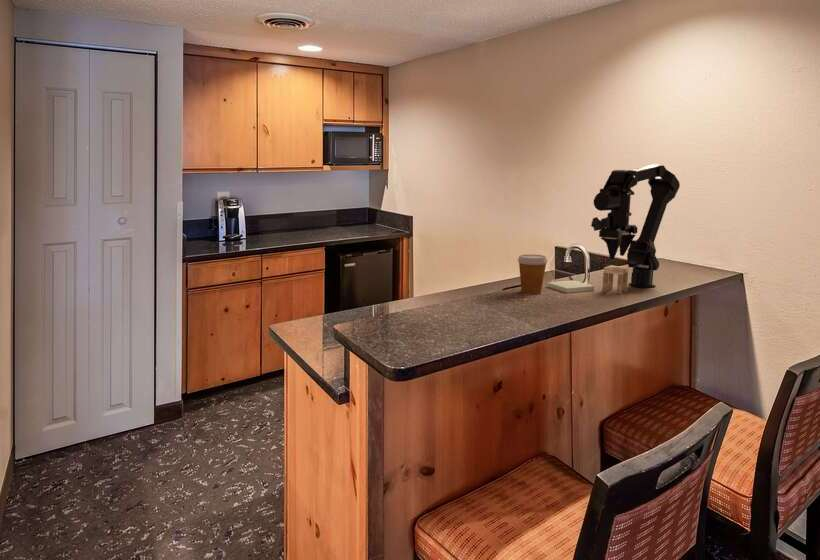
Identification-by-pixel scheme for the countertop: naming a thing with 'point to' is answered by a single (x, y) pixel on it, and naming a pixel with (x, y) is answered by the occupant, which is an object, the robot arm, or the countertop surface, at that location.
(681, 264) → the countertop surface
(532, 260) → the disposable coffee cup
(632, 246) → the robot arm
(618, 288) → the maple stool
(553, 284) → the sage board
